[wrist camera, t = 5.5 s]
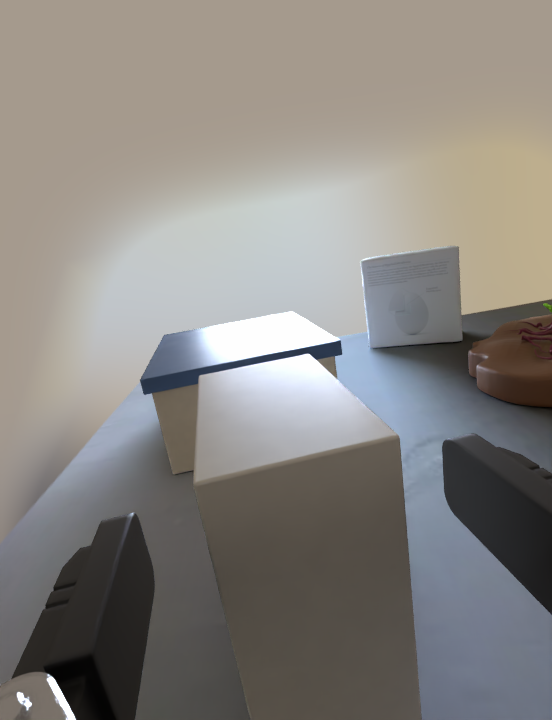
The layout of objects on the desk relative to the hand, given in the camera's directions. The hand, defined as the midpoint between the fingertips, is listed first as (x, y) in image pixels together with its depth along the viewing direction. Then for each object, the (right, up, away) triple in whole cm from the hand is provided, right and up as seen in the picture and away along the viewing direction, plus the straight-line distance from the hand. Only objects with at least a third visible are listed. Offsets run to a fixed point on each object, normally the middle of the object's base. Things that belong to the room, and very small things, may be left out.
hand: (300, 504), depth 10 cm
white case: (+1, -6, +5) cm, 8 cm away
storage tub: (-3, -1, +24) cm, 24 cm away
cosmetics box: (+16, +6, +39) cm, 43 cm away
